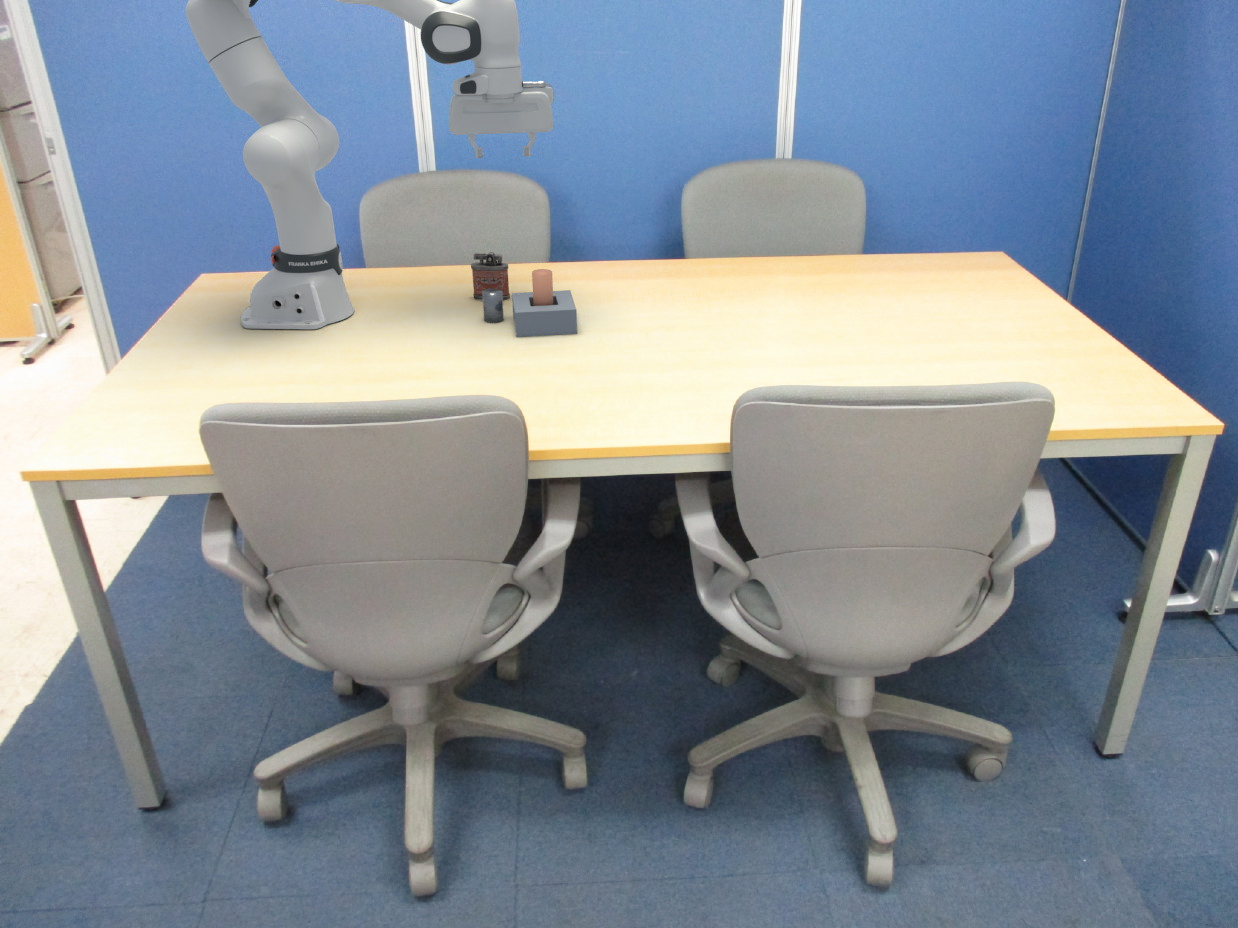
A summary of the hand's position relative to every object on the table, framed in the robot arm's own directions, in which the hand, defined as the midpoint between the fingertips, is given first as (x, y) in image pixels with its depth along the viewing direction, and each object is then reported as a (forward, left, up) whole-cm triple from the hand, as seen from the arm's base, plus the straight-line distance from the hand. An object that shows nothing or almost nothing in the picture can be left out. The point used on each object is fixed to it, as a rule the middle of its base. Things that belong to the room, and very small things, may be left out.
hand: (503, 156), depth 195 cm
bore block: (+6, -11, -31) cm, 34 cm away
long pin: (+6, -11, -31) cm, 34 cm away
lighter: (-4, +7, -31) cm, 32 cm away
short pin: (-4, -7, -31) cm, 32 cm away
